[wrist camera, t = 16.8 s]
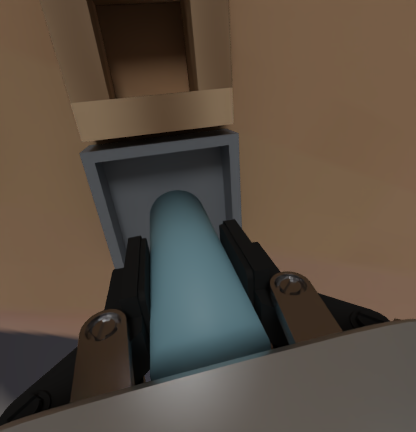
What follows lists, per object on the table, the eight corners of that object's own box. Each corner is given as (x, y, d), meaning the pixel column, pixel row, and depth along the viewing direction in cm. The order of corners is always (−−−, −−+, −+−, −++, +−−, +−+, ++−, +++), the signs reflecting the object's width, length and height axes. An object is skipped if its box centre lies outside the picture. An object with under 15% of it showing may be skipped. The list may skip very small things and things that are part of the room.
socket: (93, 134, 15) (81, 142, 13) (44, -42, 12) (15, -82, 9) (220, 119, 17) (233, 123, 14) (209, -44, 13) (225, -80, 11)
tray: (122, 262, 19) (119, 283, 17) (89, 145, 16) (79, 153, 13) (232, 240, 21) (242, 257, 19) (226, 128, 17) (238, 133, 15)
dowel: (155, 244, 16) (161, 416, 7) (144, 194, 15) (137, 336, 6) (206, 234, 17) (269, 385, 8) (201, 186, 15) (272, 305, 7)
